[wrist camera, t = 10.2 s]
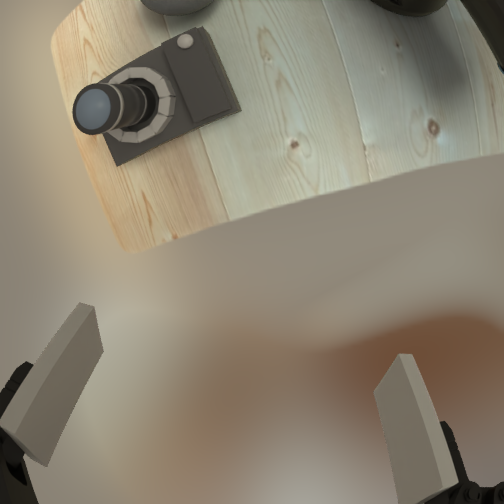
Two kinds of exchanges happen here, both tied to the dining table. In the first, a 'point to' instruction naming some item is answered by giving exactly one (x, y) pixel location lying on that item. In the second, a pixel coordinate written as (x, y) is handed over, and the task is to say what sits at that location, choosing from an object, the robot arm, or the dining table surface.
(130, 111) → the lens
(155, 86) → the camera body
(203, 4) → the decorative stone
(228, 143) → the dining table surface
